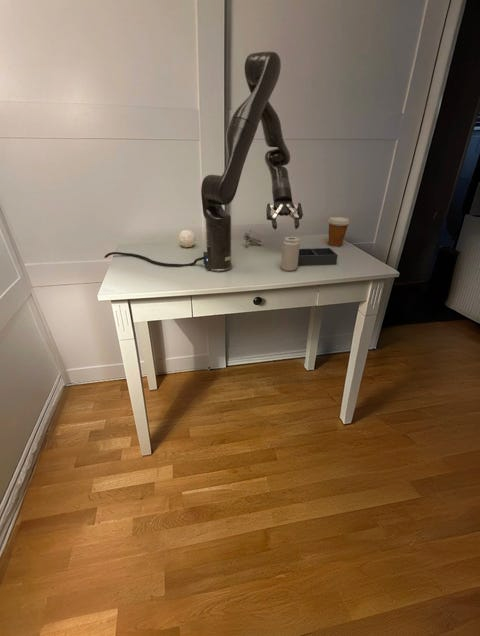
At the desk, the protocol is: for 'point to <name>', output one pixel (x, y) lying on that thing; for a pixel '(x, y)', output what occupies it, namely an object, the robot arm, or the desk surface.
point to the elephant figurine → (251, 239)
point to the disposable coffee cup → (337, 230)
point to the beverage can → (290, 253)
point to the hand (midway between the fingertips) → (286, 228)
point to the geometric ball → (187, 238)
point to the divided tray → (317, 257)
